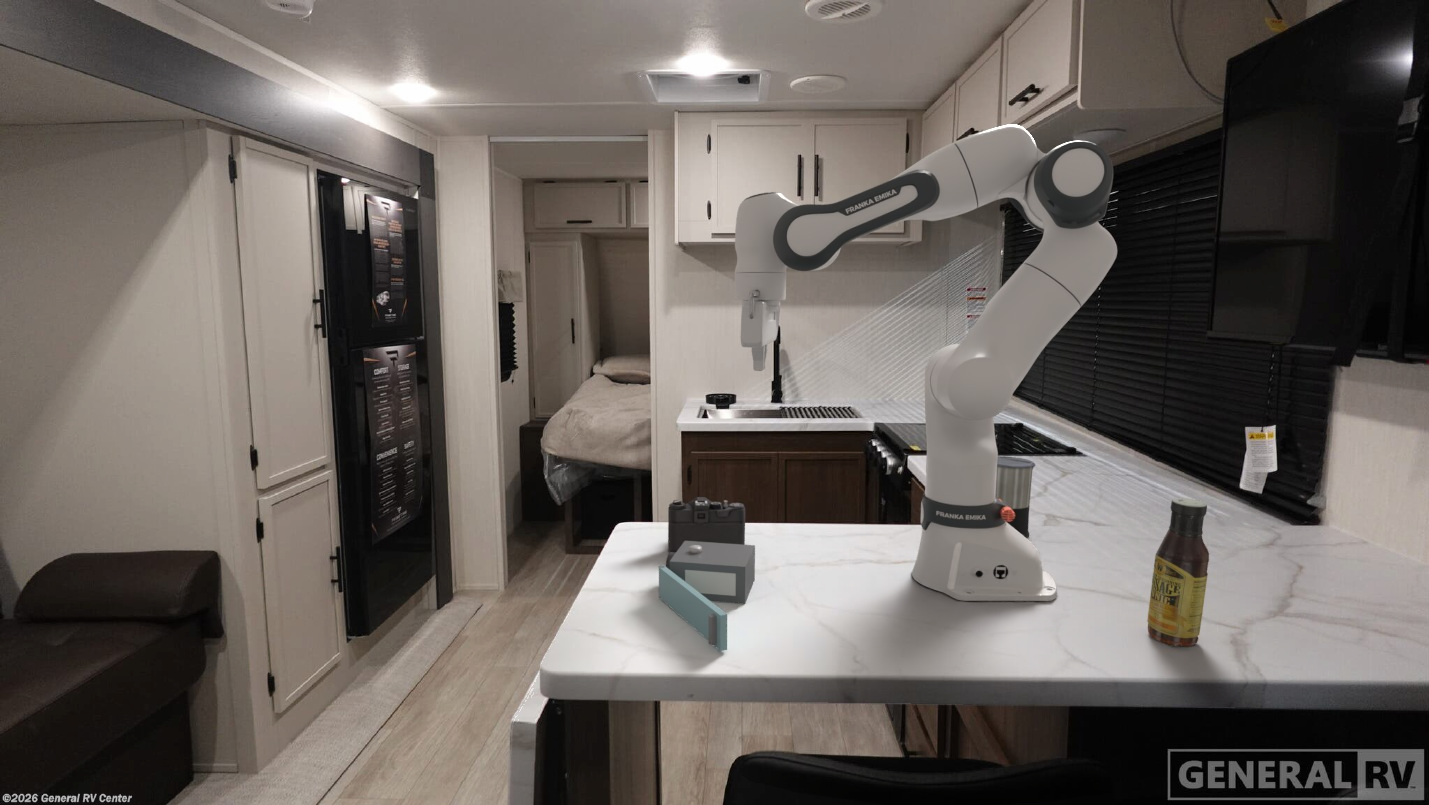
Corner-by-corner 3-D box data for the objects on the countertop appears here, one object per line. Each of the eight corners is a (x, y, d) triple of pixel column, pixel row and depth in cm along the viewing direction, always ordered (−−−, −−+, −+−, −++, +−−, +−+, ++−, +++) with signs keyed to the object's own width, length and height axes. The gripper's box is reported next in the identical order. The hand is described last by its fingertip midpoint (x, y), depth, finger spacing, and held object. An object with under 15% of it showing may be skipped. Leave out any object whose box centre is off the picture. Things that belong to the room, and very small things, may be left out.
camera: (740, 536, 148) (741, 487, 146) (746, 555, 137) (746, 503, 135) (668, 538, 147) (667, 488, 145) (668, 557, 136) (667, 504, 135)
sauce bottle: (1136, 630, 106) (1148, 494, 103) (1177, 628, 107) (1190, 493, 104) (1167, 651, 100) (1181, 508, 97) (1211, 650, 100) (1226, 506, 98)
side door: (727, 649, 100) (727, 614, 99) (715, 652, 99) (715, 616, 98) (663, 595, 118) (663, 565, 117) (653, 597, 117) (652, 567, 116)
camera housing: (754, 579, 125) (755, 540, 124) (745, 604, 115) (745, 561, 114) (677, 573, 128) (676, 535, 127) (661, 597, 118) (660, 555, 117)
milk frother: (1024, 527, 153) (1029, 456, 151) (1042, 553, 138) (1048, 475, 136) (952, 523, 156) (955, 453, 154) (962, 548, 140) (966, 471, 138)
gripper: (770, 290, 118) (769, 377, 120) (784, 290, 138) (783, 365, 140) (731, 290, 119) (731, 376, 121) (751, 290, 139) (750, 364, 141)
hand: (759, 370), depth 131 cm, fingers closed
